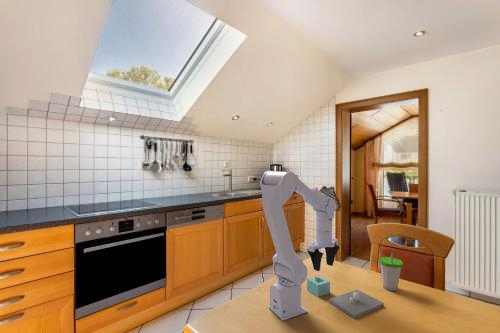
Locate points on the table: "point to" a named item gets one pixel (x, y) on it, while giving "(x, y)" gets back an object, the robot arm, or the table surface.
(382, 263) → the cup
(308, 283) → the teal slotted block
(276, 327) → the table surface
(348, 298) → the post board
